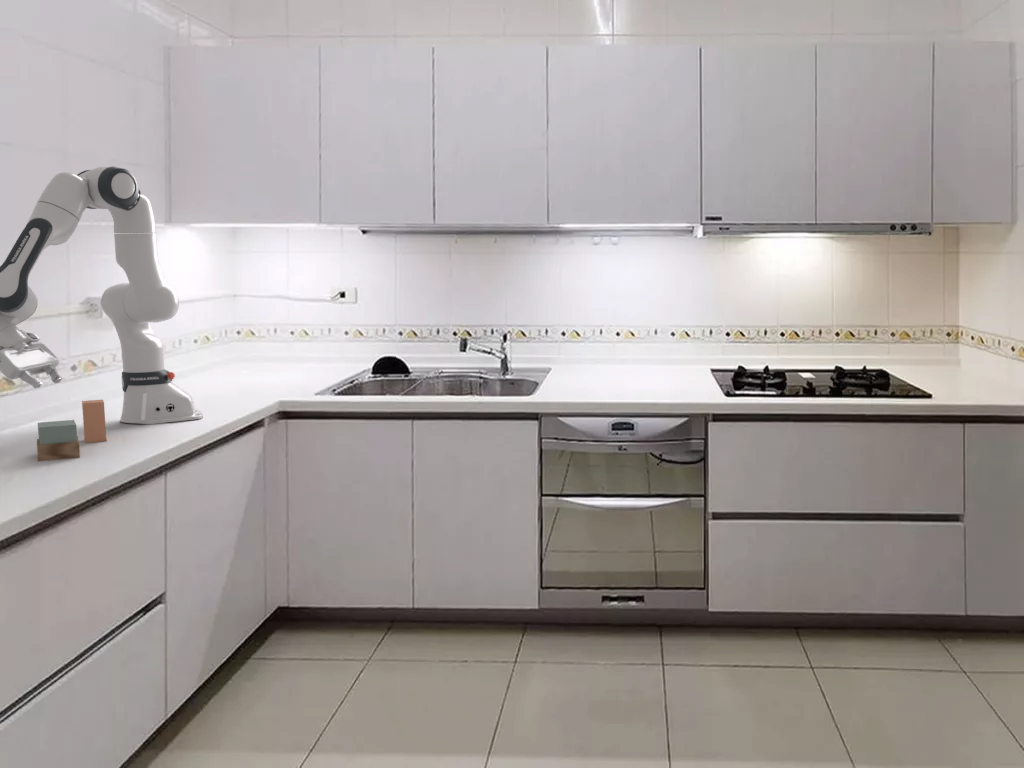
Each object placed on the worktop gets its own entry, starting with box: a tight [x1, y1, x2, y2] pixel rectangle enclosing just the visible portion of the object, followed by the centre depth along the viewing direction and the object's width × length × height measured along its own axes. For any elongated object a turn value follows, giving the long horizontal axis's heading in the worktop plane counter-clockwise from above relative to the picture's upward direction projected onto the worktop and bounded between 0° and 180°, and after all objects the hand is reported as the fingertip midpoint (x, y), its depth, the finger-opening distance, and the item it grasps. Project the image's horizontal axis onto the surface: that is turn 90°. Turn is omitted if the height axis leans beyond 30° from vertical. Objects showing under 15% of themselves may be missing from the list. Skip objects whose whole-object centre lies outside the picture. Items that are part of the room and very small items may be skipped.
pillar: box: [81, 399, 107, 444], centre depth 268 cm, size 5×5×10 cm
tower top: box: [37, 419, 78, 445], centre depth 249 cm, size 8×8×4 cm
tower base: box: [36, 435, 81, 462], centre depth 249 cm, size 9×9×4 cm
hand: (49, 383), depth 268 cm, fingers open, 8 cm apart
